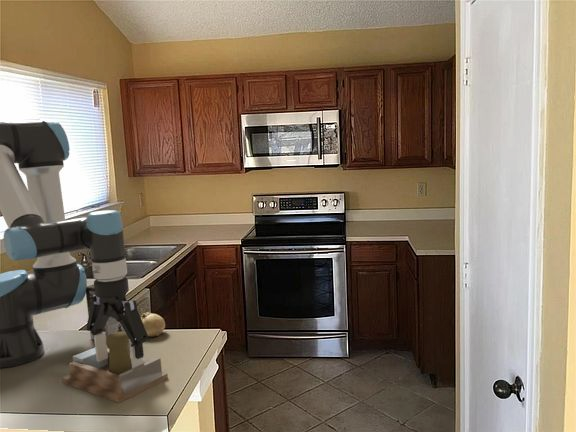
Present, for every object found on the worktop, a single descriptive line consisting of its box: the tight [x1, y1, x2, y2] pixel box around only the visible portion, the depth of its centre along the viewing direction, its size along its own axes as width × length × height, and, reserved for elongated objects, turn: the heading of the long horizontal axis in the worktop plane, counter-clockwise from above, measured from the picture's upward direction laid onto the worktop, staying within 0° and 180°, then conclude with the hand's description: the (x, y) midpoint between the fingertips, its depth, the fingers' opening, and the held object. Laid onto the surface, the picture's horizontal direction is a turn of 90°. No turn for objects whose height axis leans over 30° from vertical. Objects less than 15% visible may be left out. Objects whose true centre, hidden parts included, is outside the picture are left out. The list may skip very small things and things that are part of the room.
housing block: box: [72, 347, 108, 369], centre depth 136 cm, size 4×7×4 cm, turn 144°
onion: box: [140, 311, 166, 337], centre depth 162 cm, size 8×8×7 cm
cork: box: [106, 332, 132, 375], centre depth 129 cm, size 6×6×11 cm
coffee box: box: [85, 283, 126, 340], centre depth 161 cm, size 9×6×16 cm
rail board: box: [61, 348, 169, 404], centre depth 131 cm, size 22×14×6 cm, turn 54°
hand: (119, 365), depth 129 cm, fingers open, 13 cm apart
